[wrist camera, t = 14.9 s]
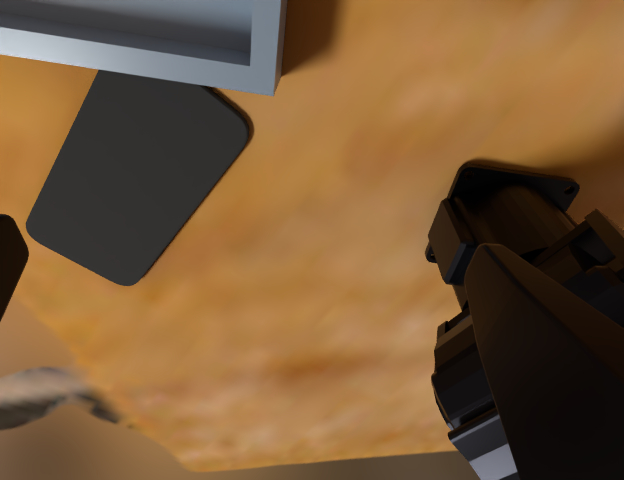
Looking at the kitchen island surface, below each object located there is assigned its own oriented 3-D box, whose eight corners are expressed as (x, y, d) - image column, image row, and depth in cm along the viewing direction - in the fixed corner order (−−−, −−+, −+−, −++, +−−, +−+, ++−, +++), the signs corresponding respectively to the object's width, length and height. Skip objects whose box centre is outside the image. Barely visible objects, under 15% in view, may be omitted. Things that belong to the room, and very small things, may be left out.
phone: (258, 130, 20) (131, 292, 26) (260, 125, 20) (136, 284, 27) (119, 22, 17) (19, 233, 24) (127, 19, 18) (27, 225, 24)
